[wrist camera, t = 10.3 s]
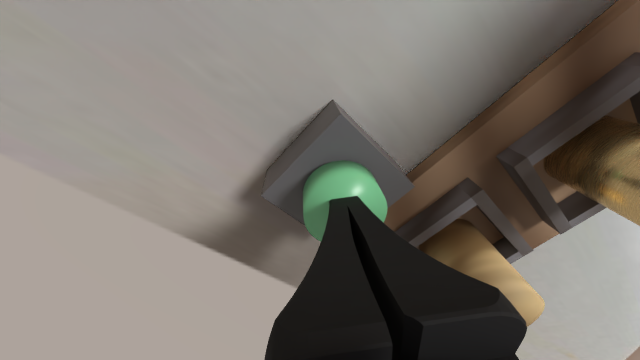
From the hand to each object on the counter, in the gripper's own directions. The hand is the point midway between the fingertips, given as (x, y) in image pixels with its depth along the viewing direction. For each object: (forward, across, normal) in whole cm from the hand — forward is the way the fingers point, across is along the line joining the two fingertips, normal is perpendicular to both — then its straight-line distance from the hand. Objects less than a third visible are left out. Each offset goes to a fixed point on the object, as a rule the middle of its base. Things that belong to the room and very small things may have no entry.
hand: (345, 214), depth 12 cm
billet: (+4, -16, +1) cm, 16 cm away
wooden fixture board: (+5, -12, +4) cm, 14 cm away
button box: (+5, 0, 0) cm, 5 cm away
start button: (+2, 0, 0) cm, 2 cm away
